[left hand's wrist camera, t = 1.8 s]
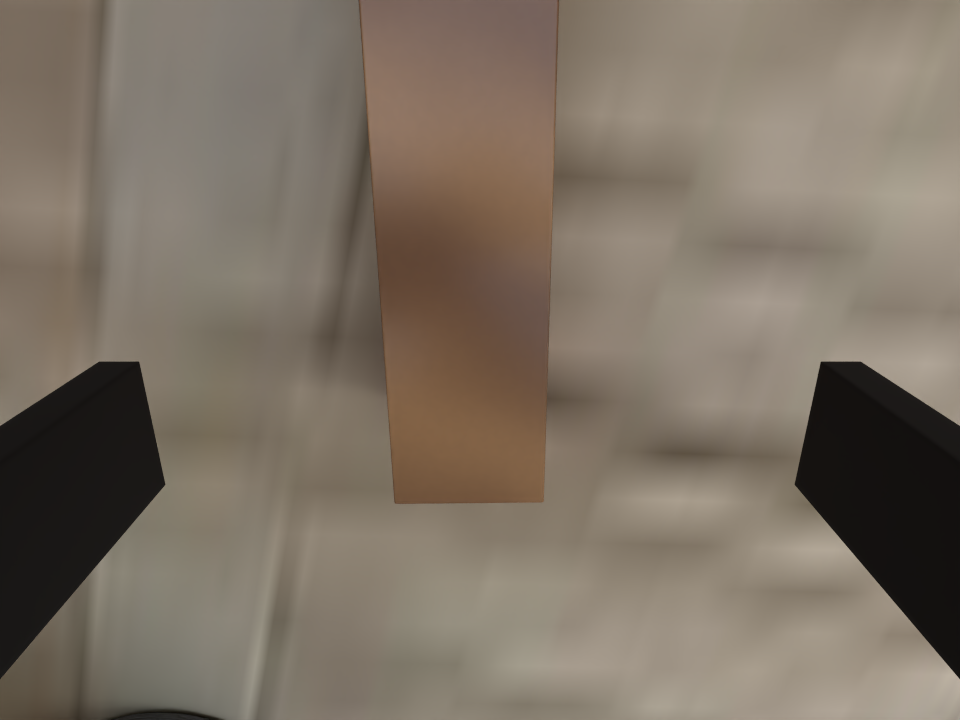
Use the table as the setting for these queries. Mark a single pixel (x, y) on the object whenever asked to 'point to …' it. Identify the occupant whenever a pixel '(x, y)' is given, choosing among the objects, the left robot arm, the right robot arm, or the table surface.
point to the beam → (463, 239)
